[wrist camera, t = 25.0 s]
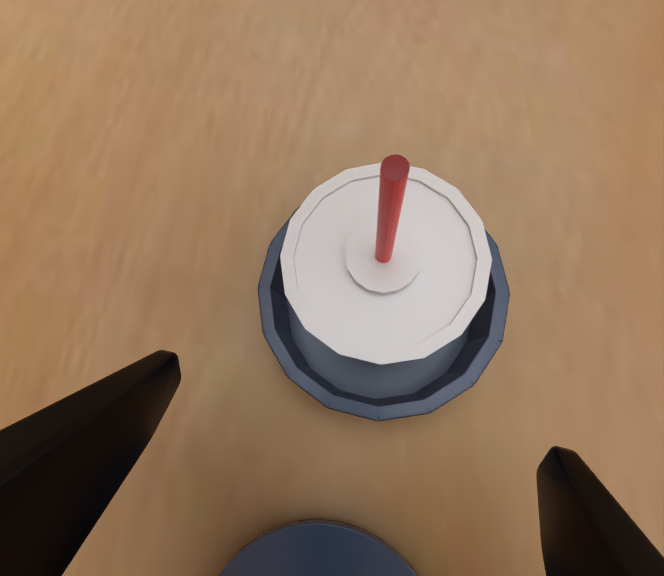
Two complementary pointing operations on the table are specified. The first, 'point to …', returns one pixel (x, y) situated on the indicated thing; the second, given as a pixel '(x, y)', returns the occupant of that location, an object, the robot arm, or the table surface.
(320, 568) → the lid
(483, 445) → the table surface
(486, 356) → the pot
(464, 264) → the beverage cup
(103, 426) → the robot arm
